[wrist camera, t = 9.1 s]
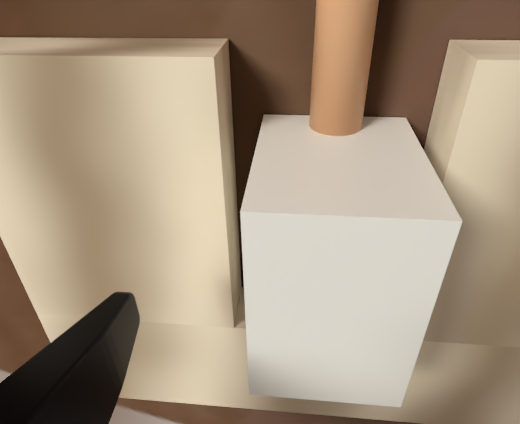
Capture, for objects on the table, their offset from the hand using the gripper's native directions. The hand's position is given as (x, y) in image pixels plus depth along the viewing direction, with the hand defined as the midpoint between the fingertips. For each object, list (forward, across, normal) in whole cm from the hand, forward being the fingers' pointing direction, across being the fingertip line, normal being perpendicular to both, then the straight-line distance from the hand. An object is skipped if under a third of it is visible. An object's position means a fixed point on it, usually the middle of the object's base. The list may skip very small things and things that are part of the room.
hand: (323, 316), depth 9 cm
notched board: (+5, 0, +2) cm, 5 cm away
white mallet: (+5, 0, -4) cm, 6 cm away
